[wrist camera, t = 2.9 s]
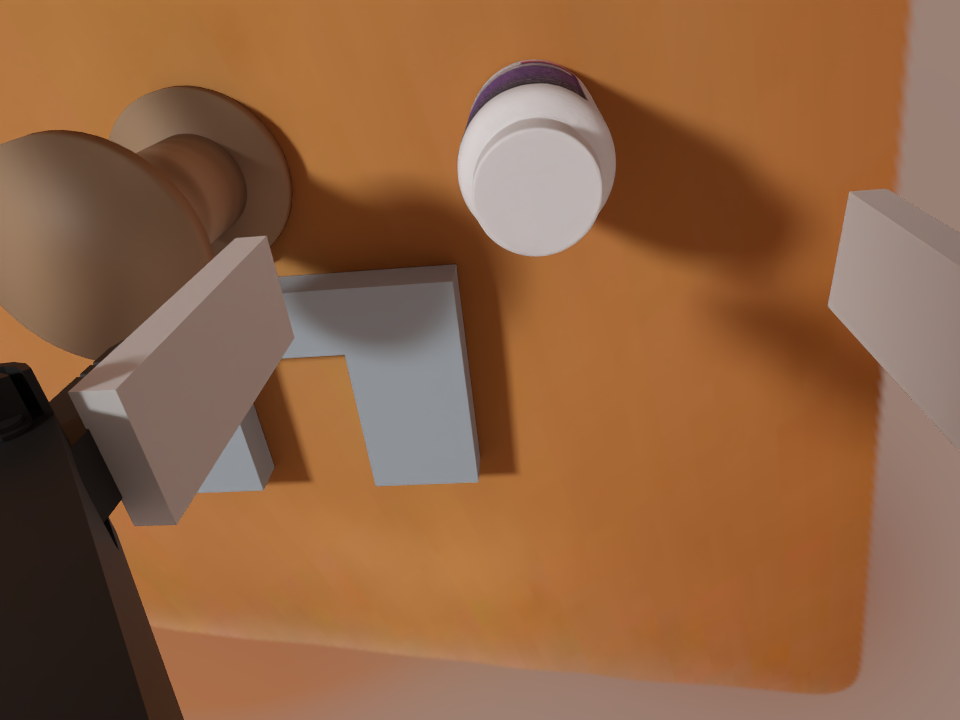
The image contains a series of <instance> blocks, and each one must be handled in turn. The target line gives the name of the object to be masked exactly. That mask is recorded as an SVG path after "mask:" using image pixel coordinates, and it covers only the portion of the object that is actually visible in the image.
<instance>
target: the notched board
mask: <svg viewBox="0 0 960 720" xmlns="http://www.w3.org/2000/svg"><path fill="white" fill-rule="evenodd" d="M278 279H279V283H280V286H281V290H282V294H283V297H284V301H285V305H286V308H287V312H288V316H289V319H290V323H291V327H292V330H293V334H294V337H295V338H294V340H293V341H292V343H291V344H290V346H289V347H288V349H287V351H286V352H285V354H284V355H283V357H282V358H299V357H316V356H334V355H345V358H346V362H347V367H348V371H349V375H350V379H351V384H352V388H353V392H354V396H355V400H356V405H357V409H358V413H359V417H360V422H361V426H362V430H363V434H364V439H365V443H366V447H367V451H368V455H369V460H370V464H371V468H372V472H373V477H374V481H375V485H376V486H392V485H418V484H444V483H471V482H479V470H480V451H479V443H478V435H477V427H476V419H475V411H474V403H473V395H472V387H471V379H470V371H469V363H468V355H467V347H466V339H465V331H464V323H463V315H462V307H461V299H460V291H459V283H458V275H457V267H456V264H453V265H439V266H425V267H411V268H396V269H382V270H368V271H354V272H340V273H325V274H311V275H297V276H283V277H278ZM274 468H275V466H274V463H273V460H272V457H271V454H270V452H269V449H268V446H267V443H266V440H265V437H264V434H263V431H262V428H261V425H260V422H259V419H258V416H257V413H256V410H255V407H254V404H253V405H252V406H251V408H250V409H249V411H248V412H247V414H246V416H245V417H244V419H243V420H242V422H241V424H240V425H239V427H238V428H237V430H236V431H235V433H234V435H233V436H232V438H231V439H230V441H229V443H228V444H227V446H226V447H225V449H224V451H223V452H222V454H221V455H220V457H219V458H218V460H217V462H216V463H215V465H214V466H213V468H212V470H211V471H210V473H209V474H208V476H207V477H206V479H205V481H204V482H203V484H202V485H201V487H200V489H199V490H198V492H197V493H207V492H234V491H260V490H264V488H265V486H266V484H267V482H268V480H269V478H270V476H271V474H272V472H273V470H274Z"/></svg>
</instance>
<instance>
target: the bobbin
mask: <svg viewBox="0 0 960 720" xmlns="http://www.w3.org/2000/svg"><path fill="white" fill-rule="evenodd" d="M291 206H292V182H291V176H290V171H289V168H288V165H287V162H286V159H285V157H284V155H283V152H282V150H281V148H280V146H279V145H278V143H277V141H276V140H275V138H274V137H273V135H272V134H271V132H270V131H269V130H268V128H267V127H266V126H265V125H264V124H263V123H262V122H261V121H260V120H259V119H258V117H256V116H255V115H254V114H253V113H252V112H251V111H249V110H248V109H247V108H246V107H244V106H243V105H241V104H240V103H238V102H237V101H235V100H233V99H231V98H230V97H228V96H226V95H224V94H221V93H218V92H216V91H213V90H210V89H206V88H202V87H195V86H173V87H168V88H163V89H160V90H157V91H155V92H152V93H149V94H146V95H144V96H142V97H140V98H138V99H137V100H135V101H134V102H132V103H131V104H130V105H129V106H128V107H126V109H125V110H124V111H123V112H122V113H121V114H120V116H119V117H118V119H117V121H116V122H115V124H114V126H113V129H112V131H111V134H110V138H109V140H107V139H104V138H102V137H99V136H95V135H91V134H87V133H83V132H76V131H67V130H49V131H43V132H37V133H32V134H29V135H26V136H23V137H20V138H17V139H15V140H12V141H9V142H6V143H3V144H1V145H0V305H1V306H2V307H3V308H4V309H5V310H6V311H7V312H8V313H9V314H10V315H11V316H13V317H14V318H15V319H16V320H17V321H18V322H19V323H21V324H22V325H23V326H25V327H26V328H27V329H28V330H30V331H31V332H33V333H34V334H36V335H37V336H39V337H40V338H42V339H43V340H45V341H47V342H49V343H51V344H53V345H55V346H56V347H58V348H61V349H63V350H65V351H68V352H70V353H72V354H75V355H78V356H81V357H85V358H88V359H92V360H96V359H97V358H99V357H100V356H101V355H102V354H103V353H104V352H105V351H106V350H107V349H109V348H110V347H112V346H114V345H115V344H117V343H119V342H121V341H122V340H124V339H126V338H127V337H128V336H130V335H131V334H132V333H133V332H134V331H135V330H136V329H137V328H138V327H139V326H140V325H142V324H143V323H144V322H145V321H146V320H147V319H148V318H149V317H150V316H151V315H152V314H154V313H155V312H156V311H157V310H158V309H159V308H160V307H161V306H162V305H163V304H164V303H165V302H167V301H168V300H169V299H170V298H171V297H172V296H173V295H174V294H175V293H176V292H177V291H179V290H180V289H181V288H182V287H183V286H184V285H185V284H186V283H187V282H188V281H189V280H191V279H192V278H193V277H194V276H195V275H196V274H197V273H198V272H199V271H200V270H201V269H203V268H204V267H205V266H206V265H207V264H208V263H209V262H210V261H211V260H212V259H213V258H214V257H216V256H217V255H218V254H219V253H220V252H221V251H222V250H223V249H224V248H225V247H226V246H228V245H229V244H230V243H231V242H232V241H233V240H234V239H235V238H243V237H256V236H267V239H268V243H269V246H271V245H272V244H273V242H274V241H275V240H276V239H277V238H278V236H279V235H280V234H281V232H282V231H283V229H284V227H285V225H286V223H287V220H288V218H289V215H290V210H291Z"/></svg>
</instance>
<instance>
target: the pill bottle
mask: <svg viewBox="0 0 960 720" xmlns="http://www.w3.org/2000/svg"><path fill="white" fill-rule="evenodd" d="M457 161H458V180H459V185H460V189H461V193H462V196H463V198H464V200H465V203H466V204H467V206H468V208H469V210H470V211H471V213H472V214H473V215H474V217H475V218H476V219H477V220H478V222H479V224H480V225H481V227H482V228H483V230H484V231H485V233H486V234H487V235H488V236H489V237H490V238H491V239H492V240H493V241H494V242H496V243H497V244H498V245H500V246H501V247H503V248H505V249H507V250H508V251H511V252H513V253H517V254H520V255H525V256H546V255H551V254H555V253H558V252H561V251H563V250H565V249H567V248H569V247H571V246H572V245H574V244H575V243H577V242H578V241H579V240H580V239H581V238H582V237H583V236H584V235H585V234H586V233H587V232H588V231H589V230H590V228H591V227H592V225H593V224H594V222H595V220H596V218H597V216H598V214H599V212H600V211H601V209H602V208H603V206H604V205H605V203H606V201H607V199H608V197H609V195H610V192H611V189H612V186H613V183H614V178H615V171H616V154H615V147H614V143H613V140H612V136H611V133H610V131H609V128H608V126H607V124H606V122H605V120H604V118H603V116H602V115H601V113H600V111H599V109H598V107H597V106H596V104H595V102H594V100H593V98H592V96H591V94H590V93H589V92H588V90H587V88H586V87H585V85H584V84H583V83H582V81H581V80H580V79H579V78H578V77H577V76H575V75H574V74H573V73H572V72H570V71H569V70H568V69H566V68H565V67H563V66H561V65H558V64H556V63H553V62H550V61H545V60H524V61H519V62H516V63H513V64H511V65H508V66H506V67H504V68H503V69H501V70H500V71H498V72H497V73H495V74H494V75H493V76H492V77H491V78H490V79H489V80H488V81H487V82H486V83H485V84H484V86H483V87H482V88H481V90H480V92H479V93H478V95H477V97H476V99H475V101H474V103H473V106H472V109H471V112H470V116H469V119H468V123H467V126H466V129H465V132H464V135H463V138H462V141H461V144H460V149H459V153H458V160H457Z"/></svg>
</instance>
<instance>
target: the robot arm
mask: <svg viewBox="0 0 960 720" xmlns="http://www.w3.org/2000/svg"><path fill="white" fill-rule="evenodd" d="M828 307H829V308H830V310H831V311H832V312H833V313H834V314H835V315H836V316H837V317H838V318H839V319H840V321H841V322H842V323H843V324H844V325H845V326H846V327H847V328H848V329H849V331H850V332H851V333H852V334H853V335H854V336H855V337H856V338H857V339H858V340H859V342H860V343H861V344H862V345H863V346H864V347H865V348H866V349H867V350H868V352H869V353H870V354H871V355H872V356H873V357H874V358H875V359H876V360H877V361H878V363H879V364H880V365H881V366H882V367H883V368H884V369H885V370H886V371H887V373H888V374H889V375H890V376H891V377H892V378H893V379H894V380H895V381H896V382H897V383H898V385H899V386H900V387H901V388H902V389H903V390H904V391H905V392H906V393H907V395H908V396H909V397H910V398H911V399H912V400H913V401H914V402H915V403H916V405H917V406H918V407H919V408H920V409H921V410H922V411H923V412H924V413H925V414H926V416H927V417H928V418H929V419H930V420H931V421H932V422H933V423H934V424H935V426H936V427H937V428H938V429H939V430H940V431H941V432H942V433H943V434H944V435H945V437H947V439H948V440H949V441H950V442H951V443H952V444H953V445H954V447H955V448H956V449H957V450H958V451H959V452H960V233H959V232H958V231H956V230H955V229H953V228H951V227H949V226H948V225H946V224H945V223H943V222H941V221H940V220H938V219H936V218H934V217H933V216H931V215H930V214H928V213H926V212H925V211H923V210H921V209H920V208H918V207H916V206H914V205H913V204H911V203H910V202H908V201H906V200H905V199H903V198H901V197H900V196H898V195H896V194H895V193H893V192H891V191H890V190H888V189H879V190H865V191H852V192H849V197H848V202H847V207H846V212H845V218H844V223H843V228H842V233H841V239H840V244H839V249H838V255H837V260H836V265H835V270H834V276H833V281H832V286H831V291H830V297H829V302H828ZM294 338H295V337H294V334H293V330H292V327H291V323H290V319H289V316H288V312H287V308H286V305H285V301H284V297H283V294H282V290H281V286H280V283H279V279H278V275H277V272H276V268H275V264H274V261H273V257H272V254H271V250H270V246H269V243H268V239H267V236H256V237H243V238H235V239H234V240H233V241H232V242H231V243H230V244H229V245H228V246H226V247H225V248H224V249H223V250H222V251H221V252H220V253H219V254H218V255H217V256H216V257H214V258H213V259H212V260H211V261H210V262H209V263H208V264H207V265H206V266H205V267H204V268H203V269H201V270H200V271H199V272H198V273H197V274H196V275H195V276H194V277H193V278H192V279H191V280H189V281H188V282H187V283H186V284H185V285H184V286H183V287H182V288H181V289H180V290H179V291H177V292H176V293H175V294H174V295H173V296H172V297H171V298H170V299H169V300H168V301H167V302H165V303H164V304H163V305H162V306H161V307H160V308H159V309H158V310H157V311H156V312H155V313H154V314H152V315H151V316H150V317H149V318H148V319H147V320H146V321H145V322H144V323H143V324H142V325H140V326H139V327H138V328H137V329H136V330H135V331H134V332H133V333H132V334H131V335H130V336H128V337H127V338H126V339H124V340H122V341H121V342H119V343H117V344H115V345H114V346H112V347H110V348H109V349H107V350H106V351H105V352H104V353H103V354H102V355H101V356H100V357H99V358H97V359H96V360H95V361H94V362H93V365H90V366H89V367H88V368H86V369H85V370H84V371H83V372H82V373H81V374H80V377H76V378H75V379H74V380H73V381H72V382H71V383H70V384H69V385H68V386H66V387H65V388H64V389H63V390H62V391H61V392H60V393H59V394H58V395H57V396H55V397H54V398H53V399H52V400H51V401H50V402H48V400H47V398H46V396H45V394H44V392H43V390H42V388H41V386H40V384H39V382H38V381H37V379H36V377H35V375H34V373H33V371H32V369H31V368H30V367H29V366H28V365H27V364H25V363H18V362H10V363H1V364H0V720H184V719H183V716H182V713H181V710H180V707H179V705H178V702H177V699H176V696H175V694H174V691H173V688H172V685H171V683H170V680H169V677H168V674H167V671H166V669H165V666H164V663H163V660H162V658H161V655H160V652H159V649H158V646H157V644H156V641H155V638H154V635H153V633H152V630H151V627H150V624H149V621H148V619H147V616H146V613H145V610H144V607H143V605H142V602H141V599H140V596H139V594H138V591H137V588H136V585H135V583H134V580H133V577H132V574H131V571H130V569H129V566H128V563H127V560H126V558H125V555H124V552H123V549H122V546H121V544H120V541H119V538H118V535H117V533H116V531H115V529H114V527H113V525H112V523H111V521H110V519H109V515H110V514H111V513H112V511H113V510H114V509H115V507H116V506H117V505H118V503H119V502H120V501H121V500H122V502H123V504H124V506H125V508H126V510H127V512H128V514H129V516H130V518H131V520H132V522H133V524H134V526H153V525H177V523H178V522H179V520H180V519H181V517H182V516H183V514H184V512H185V511H186V509H187V508H188V506H189V504H190V503H191V501H192V500H193V498H194V496H195V495H196V493H197V492H198V490H199V489H200V487H201V485H202V484H203V482H204V481H205V479H206V477H207V476H208V474H209V473H210V471H211V470H212V468H213V466H214V465H215V463H216V462H217V460H218V458H219V457H220V455H221V454H222V452H223V451H224V449H225V447H226V446H227V444H228V443H229V441H230V439H231V438H232V436H233V435H234V433H235V431H236V430H237V428H238V427H239V425H240V424H241V422H242V420H243V419H244V417H245V416H246V414H247V412H248V411H249V409H250V408H251V406H252V405H253V403H254V401H255V400H256V398H257V397H258V395H259V393H260V392H261V390H262V389H263V387H264V386H265V384H266V382H267V381H268V379H269V378H270V376H271V374H272V373H273V371H274V370H275V368H276V366H277V365H278V363H279V362H280V360H281V359H282V357H283V355H284V354H285V352H286V351H287V349H288V347H289V346H290V344H291V343H292V341H293V340H294Z"/></svg>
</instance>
